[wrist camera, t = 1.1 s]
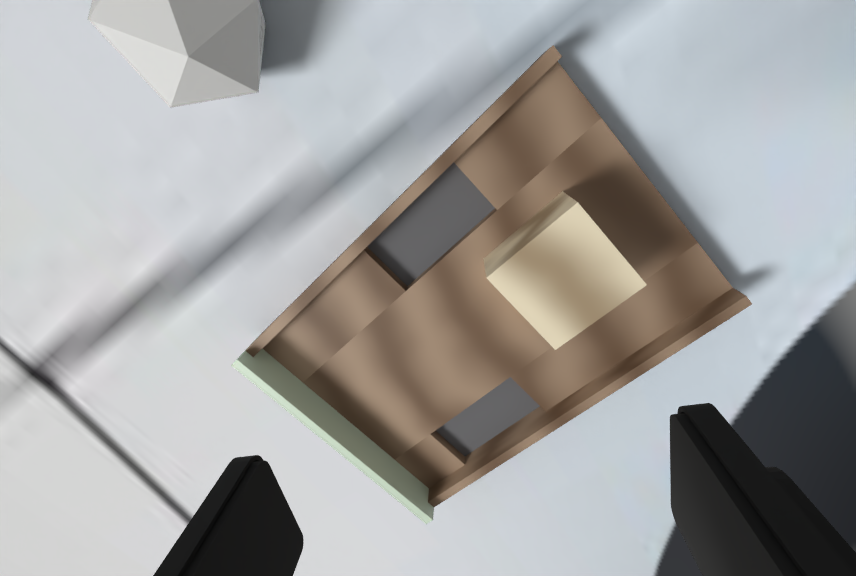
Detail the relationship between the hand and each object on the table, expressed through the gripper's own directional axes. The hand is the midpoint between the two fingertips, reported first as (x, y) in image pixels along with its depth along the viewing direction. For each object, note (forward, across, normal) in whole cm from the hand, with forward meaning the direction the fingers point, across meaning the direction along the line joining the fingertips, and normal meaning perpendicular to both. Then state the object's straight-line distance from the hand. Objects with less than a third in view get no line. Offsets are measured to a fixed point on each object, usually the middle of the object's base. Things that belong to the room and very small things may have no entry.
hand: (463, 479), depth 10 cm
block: (+22, -6, +3) cm, 23 cm away
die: (+23, +13, -16) cm, 31 cm away
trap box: (+23, +1, +8) cm, 24 cm away
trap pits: (+23, +1, +8) cm, 24 cm away
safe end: (+22, +14, +15) cm, 30 cm away
